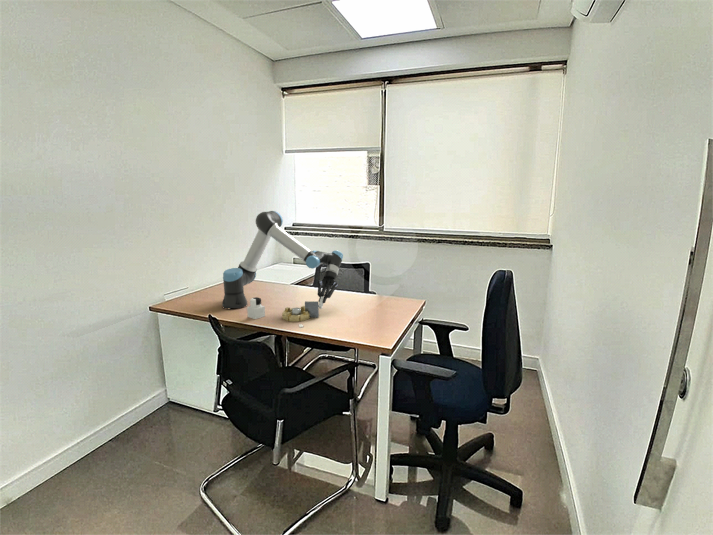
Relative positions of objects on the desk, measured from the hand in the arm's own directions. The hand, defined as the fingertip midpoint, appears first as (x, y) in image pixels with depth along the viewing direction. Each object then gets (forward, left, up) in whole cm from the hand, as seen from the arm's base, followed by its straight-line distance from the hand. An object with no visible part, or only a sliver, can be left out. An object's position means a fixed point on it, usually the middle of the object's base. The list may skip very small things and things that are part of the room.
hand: (319, 307), depth 216 cm
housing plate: (-12, -7, -6) cm, 15 cm away
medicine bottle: (-35, -10, -6) cm, 37 cm away
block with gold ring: (-10, -6, -4) cm, 12 cm away
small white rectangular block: (-5, -20, -6) cm, 21 cm away
